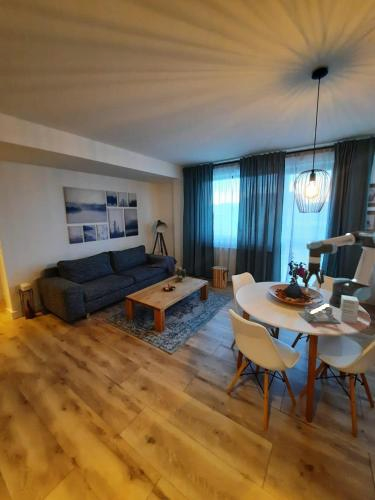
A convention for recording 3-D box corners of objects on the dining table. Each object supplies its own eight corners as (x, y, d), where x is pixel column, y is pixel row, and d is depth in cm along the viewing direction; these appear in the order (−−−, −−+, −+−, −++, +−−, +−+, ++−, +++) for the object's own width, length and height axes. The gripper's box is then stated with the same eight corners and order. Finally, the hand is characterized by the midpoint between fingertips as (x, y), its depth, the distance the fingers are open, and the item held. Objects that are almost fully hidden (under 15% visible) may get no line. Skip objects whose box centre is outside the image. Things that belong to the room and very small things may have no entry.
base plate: (327, 313, 161) (328, 304, 159) (340, 323, 146) (341, 313, 145) (298, 313, 162) (298, 304, 161) (307, 322, 148) (308, 313, 146)
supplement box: (339, 315, 157) (341, 294, 155) (354, 318, 153) (356, 296, 150) (340, 321, 149) (342, 299, 147) (356, 324, 145) (359, 301, 142)
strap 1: (325, 309, 158) (326, 308, 158) (328, 311, 155) (329, 310, 155) (309, 300, 158) (310, 299, 158) (311, 302, 155) (312, 300, 155)
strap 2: (310, 316, 149) (310, 314, 148) (308, 314, 152) (307, 312, 152) (330, 306, 146) (329, 305, 146) (327, 305, 150) (326, 303, 149)
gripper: (325, 261, 155) (323, 290, 158) (298, 261, 156) (296, 290, 160) (331, 263, 147) (329, 293, 151) (302, 263, 149) (300, 293, 152)
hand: (312, 291), depth 155 cm, fingers open, 7 cm apart
